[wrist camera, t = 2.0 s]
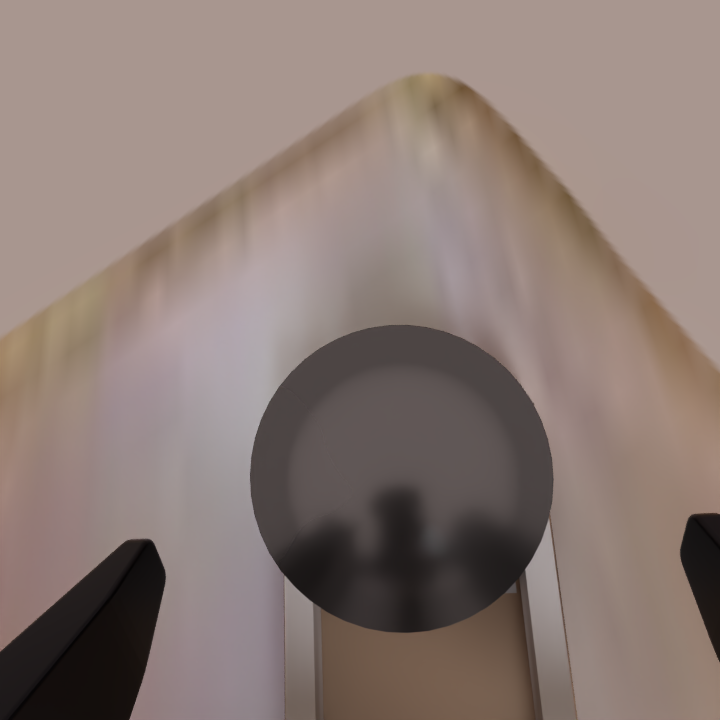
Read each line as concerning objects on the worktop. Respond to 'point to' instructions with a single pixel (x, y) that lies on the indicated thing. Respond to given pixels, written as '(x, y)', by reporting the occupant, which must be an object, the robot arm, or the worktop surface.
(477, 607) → the handle
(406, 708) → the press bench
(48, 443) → the worktop surface
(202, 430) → the worktop surface
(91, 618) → the robot arm
